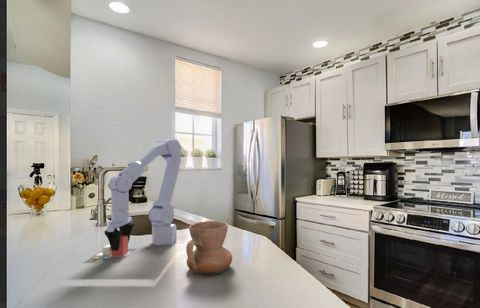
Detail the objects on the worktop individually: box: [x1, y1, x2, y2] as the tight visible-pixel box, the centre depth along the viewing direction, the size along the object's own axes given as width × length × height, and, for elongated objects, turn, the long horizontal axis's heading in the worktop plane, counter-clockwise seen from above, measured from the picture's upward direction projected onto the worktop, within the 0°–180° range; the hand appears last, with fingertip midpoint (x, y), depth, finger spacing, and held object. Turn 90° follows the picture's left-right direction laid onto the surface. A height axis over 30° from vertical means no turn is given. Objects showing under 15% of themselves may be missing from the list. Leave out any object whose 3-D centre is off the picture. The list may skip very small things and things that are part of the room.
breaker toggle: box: [102, 243, 112, 255], centre depth 97 cm, size 2×4×3 cm, turn 178°
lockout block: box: [112, 236, 129, 256], centre depth 97 cm, size 4×4×6 cm
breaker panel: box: [82, 248, 137, 264], centre depth 96 cm, size 12×14×2 cm
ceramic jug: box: [185, 220, 233, 275], centre depth 86 cm, size 18×14×14 cm
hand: (120, 246), depth 97 cm, fingers open, 7 cm apart
